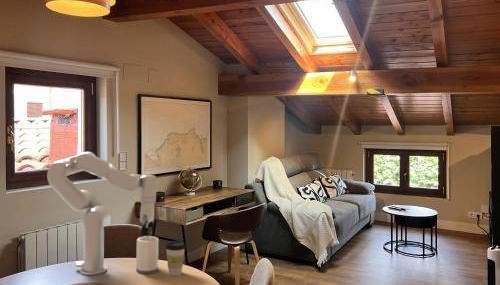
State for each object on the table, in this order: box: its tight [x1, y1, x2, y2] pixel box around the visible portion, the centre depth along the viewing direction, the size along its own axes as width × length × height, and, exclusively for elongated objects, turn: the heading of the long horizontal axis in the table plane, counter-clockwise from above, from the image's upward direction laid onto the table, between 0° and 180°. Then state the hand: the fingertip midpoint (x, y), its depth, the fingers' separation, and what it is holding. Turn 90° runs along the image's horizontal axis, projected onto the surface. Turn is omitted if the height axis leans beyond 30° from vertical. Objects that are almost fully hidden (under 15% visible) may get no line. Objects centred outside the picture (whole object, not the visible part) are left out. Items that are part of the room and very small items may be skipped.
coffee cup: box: [165, 240, 187, 277], centre depth 208 cm, size 10×10×15 cm
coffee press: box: [135, 235, 159, 275], centre depth 213 cm, size 11×13×16 cm
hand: (147, 233), depth 211 cm, fingers open, 9 cm apart
